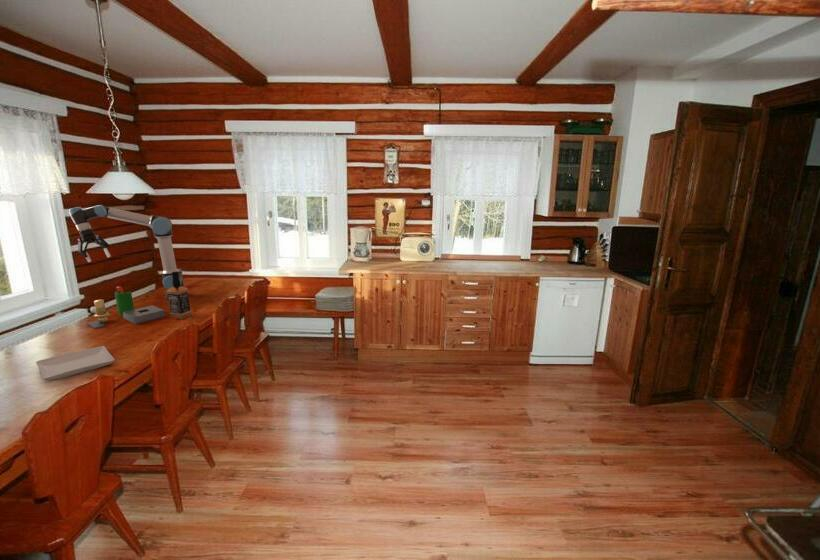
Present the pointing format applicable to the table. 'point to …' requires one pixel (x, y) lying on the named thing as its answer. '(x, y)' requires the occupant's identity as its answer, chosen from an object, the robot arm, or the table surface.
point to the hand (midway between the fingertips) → (99, 259)
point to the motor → (123, 300)
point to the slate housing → (143, 314)
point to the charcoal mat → (96, 324)
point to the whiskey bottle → (178, 299)
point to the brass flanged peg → (100, 311)
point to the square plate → (74, 363)
